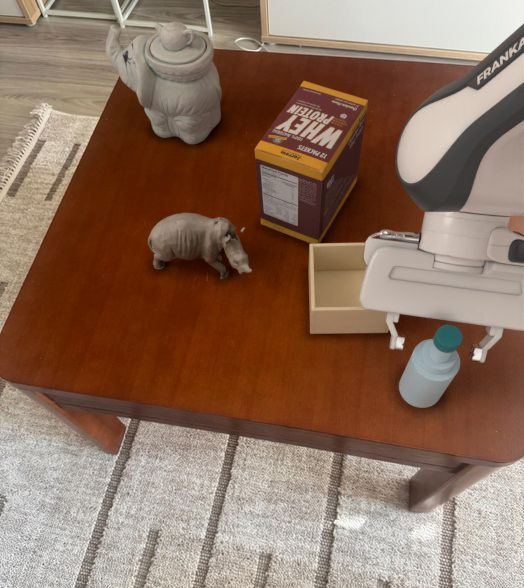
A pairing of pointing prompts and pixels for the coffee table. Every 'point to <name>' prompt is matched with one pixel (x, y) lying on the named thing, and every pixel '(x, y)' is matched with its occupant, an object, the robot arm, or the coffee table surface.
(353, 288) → the open box
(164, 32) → the teapot
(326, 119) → the supplement box
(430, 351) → the bottle
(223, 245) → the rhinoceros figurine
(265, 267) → the coffee table surface
